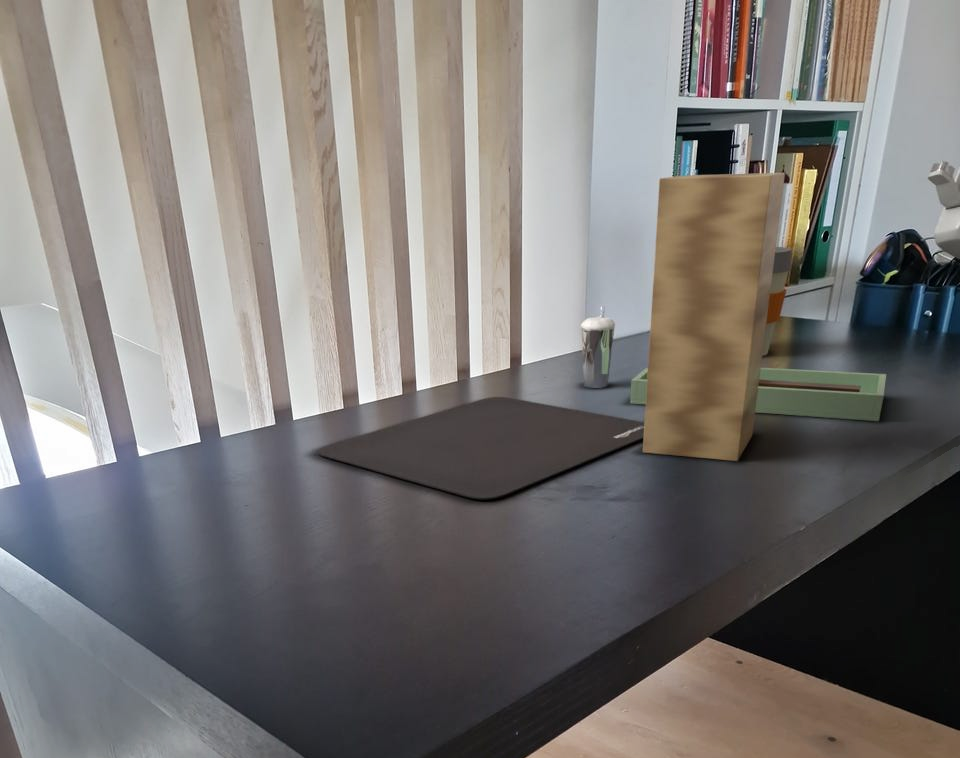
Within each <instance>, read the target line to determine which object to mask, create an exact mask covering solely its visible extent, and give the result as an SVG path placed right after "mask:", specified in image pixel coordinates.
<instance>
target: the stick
mask: <svg viewBox="0 0 960 758" xmlns="http://www.w3.org/2000/svg"><path fill="white" fill-rule="evenodd" d="M758 386H761V387H778V388H794V389H811V390H828V391H844V392H860V388H861V386H856V385H840V384H824V383H808V382H792V381H776V380H760V379H759V385H758Z"/></svg>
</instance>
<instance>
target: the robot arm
mask: <svg viewBox="0 0 960 758" xmlns="http://www.w3.org/2000/svg"><path fill="white" fill-rule="evenodd" d="M955 170H956V168H955V167H954V166H953V165H950V162H948V161H944V160H942V161H939V162H938V163H937V162H936V163H933V164H932V166H931V169H930V172H929V174H928V177H927V180H928V181H930V182H931V183H932V184H933V185H934V186H935V191H936V194H937V196H938V200H939V203H940V205H942V207H943V208H942V210H941V213H940V216H939V218H938V221H937V224H936V225H935V228H934V231H933V236H934V241H935V244H936V246H937V247H938V248H939V249H940V250H942V251H943V252H945V253H947V254H948V255H950V256H952V257H954V258H956V259H959V260H960V166H959V167H958V170H957V172H956V175H955V177H954V173H955Z"/></svg>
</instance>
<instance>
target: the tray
mask: <svg viewBox="0 0 960 758" xmlns="http://www.w3.org/2000/svg"><path fill="white" fill-rule="evenodd" d="M647 374H648V366H647V367H645V368H644V369H643V370H642V371H641V372H640V373H638V374H637V375H636V376H635V377H634V378H632V379H631V383H630V401H629V402H630V404H631V405H643V406H646V390H647ZM759 379H760V380H776V381H792V382H808V383H824V384H840V385H856V386H861V388H860V392H844V391H828V390H811V389H794V388H778V387H761V386H758V393H757V401H756V409H755V414H756V413H758V414H769V415H771V414H773V415H783V416H784V415H785V416H799V417H813V418H826V419H827V418H829V419H840V420H841V419H842V420H855V421H867V422H868V421H869V422H879V421H880V417H881V411H882V406H883V403H884V402H883V401H884V397H885V390H886V382H887V374H886V373H870V372H850V371H834V370H816V369H815V370H813V369H796V368H795V369H794V368H777V367H776V368H775V367H761V369H760V377H759Z"/></svg>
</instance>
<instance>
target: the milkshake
mask: <svg viewBox="0 0 960 758" xmlns="http://www.w3.org/2000/svg"><path fill="white" fill-rule="evenodd" d="M604 316H605V306H600V316H596V317H588V318H585V320H583V322H581V323H580V331H581V333H580V334H581V344H582V347H581V349H582V369H583V372H582V373H583V386H584V387H586V388H588V389H603V388H607V387H608V386H609V377H610V368H611V361H612V360H611V359H612V358H611V357H612V351H613V350H612V349H613V342H614V334H615V328H616V323H615V321H614V320H613V319H612V318H611V317H604Z"/></svg>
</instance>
